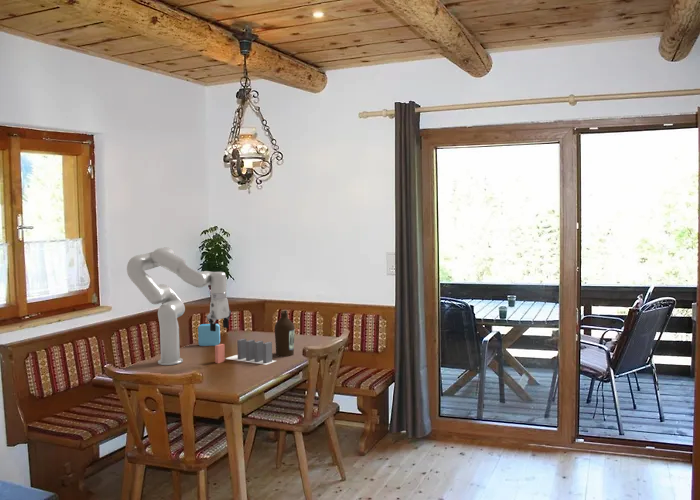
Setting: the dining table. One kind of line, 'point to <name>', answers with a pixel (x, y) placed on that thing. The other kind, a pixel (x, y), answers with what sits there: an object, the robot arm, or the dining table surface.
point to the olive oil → (284, 336)
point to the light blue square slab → (208, 335)
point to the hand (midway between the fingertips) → (219, 329)
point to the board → (247, 361)
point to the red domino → (219, 353)
